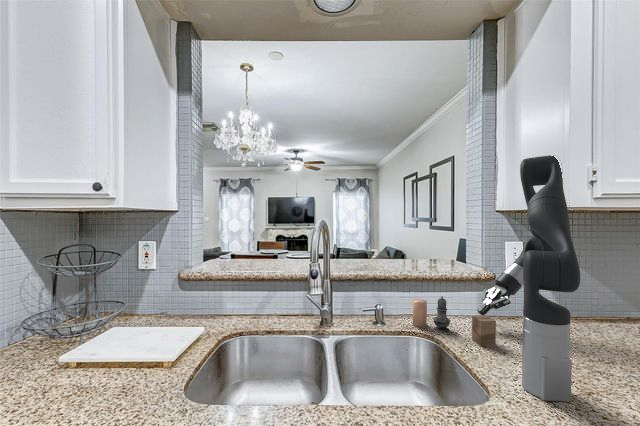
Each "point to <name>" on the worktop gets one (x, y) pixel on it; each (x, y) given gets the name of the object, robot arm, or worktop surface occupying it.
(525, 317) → the robot arm
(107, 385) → the worktop surface
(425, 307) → the terracotta canister
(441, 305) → the dark grey turned piece
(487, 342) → the walnut block
